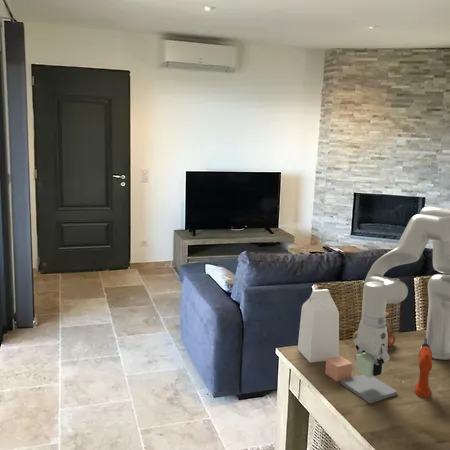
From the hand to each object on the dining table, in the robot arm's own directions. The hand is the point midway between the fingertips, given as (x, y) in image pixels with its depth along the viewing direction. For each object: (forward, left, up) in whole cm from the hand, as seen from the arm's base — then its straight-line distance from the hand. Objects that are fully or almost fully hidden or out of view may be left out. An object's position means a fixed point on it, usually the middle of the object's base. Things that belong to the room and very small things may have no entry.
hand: (369, 369), depth 167 cm
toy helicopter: (-26, -25, -7) cm, 37 cm away
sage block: (0, 0, -1) cm, 1 cm away
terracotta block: (+3, -12, -7) cm, 14 cm away
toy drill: (-19, +6, -7) cm, 21 cm away
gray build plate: (0, 0, -7) cm, 7 cm away
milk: (-1, -29, -7) cm, 30 cm away
